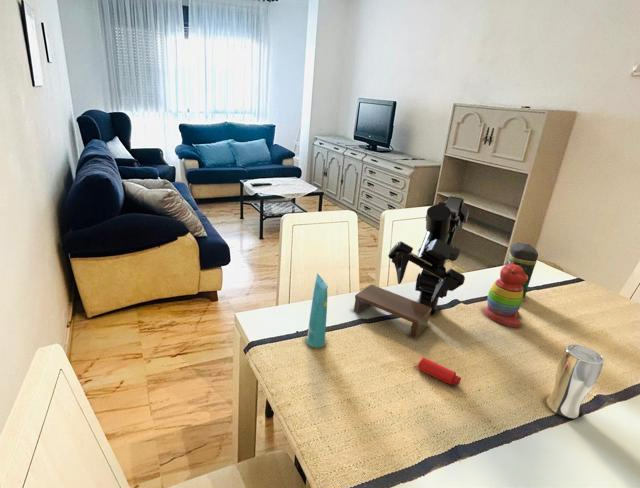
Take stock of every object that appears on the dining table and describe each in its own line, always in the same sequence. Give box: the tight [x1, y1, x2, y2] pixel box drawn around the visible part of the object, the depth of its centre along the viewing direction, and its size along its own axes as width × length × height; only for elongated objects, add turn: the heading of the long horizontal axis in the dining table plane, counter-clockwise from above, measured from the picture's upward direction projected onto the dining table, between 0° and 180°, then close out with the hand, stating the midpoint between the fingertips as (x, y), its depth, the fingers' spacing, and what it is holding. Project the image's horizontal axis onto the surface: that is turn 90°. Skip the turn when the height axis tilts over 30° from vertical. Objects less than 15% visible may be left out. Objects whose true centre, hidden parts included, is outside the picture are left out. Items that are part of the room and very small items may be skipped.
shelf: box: [353, 283, 432, 339], centre depth 116 cm, size 10×20×6 cm, turn 49°
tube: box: [306, 272, 329, 349], centre depth 101 cm, size 7×5×19 cm, turn 20°
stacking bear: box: [483, 262, 528, 328], centre depth 119 cm, size 11×10×18 cm
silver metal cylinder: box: [546, 343, 605, 419], centre depth 84 cm, size 7×7×15 cm
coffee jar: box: [505, 242, 539, 300], centre depth 133 cm, size 10×8×19 cm
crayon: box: [417, 356, 462, 386], centre depth 93 cm, size 9×3×3 cm, turn 49°
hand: (416, 292), depth 95 cm, fingers open, 9 cm apart
